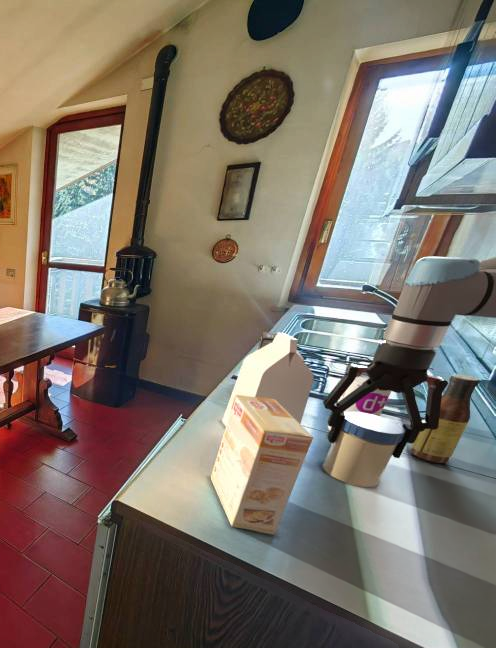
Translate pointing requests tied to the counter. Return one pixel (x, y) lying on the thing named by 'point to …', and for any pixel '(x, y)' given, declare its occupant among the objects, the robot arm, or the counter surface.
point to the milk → (275, 377)
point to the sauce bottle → (447, 421)
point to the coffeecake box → (258, 462)
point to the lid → (373, 428)
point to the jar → (357, 460)
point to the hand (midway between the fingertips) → (361, 447)
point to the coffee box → (266, 339)
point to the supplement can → (366, 399)
